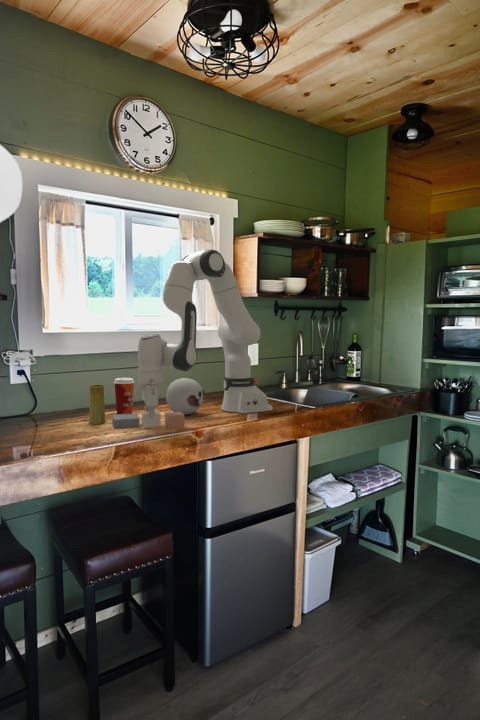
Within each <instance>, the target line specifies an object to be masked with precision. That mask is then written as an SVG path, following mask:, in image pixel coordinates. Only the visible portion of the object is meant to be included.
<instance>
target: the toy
mask: <svg viewBox="0 0 480 720" xmlns="http://www.w3.org/2000/svg"><path fill="white" fill-rule="evenodd" d="M165 394H166V395H165V400H166V404H167V406H168V408H169V409H170V410H171V412H182V413H183V414H184V416H188V415H192V414H194V413H195V412H197V411H199V409H200V408H201V406H202V405H203V403H204V395H205V391H204V389H203V388H202V386H201V385H200V383H199V382H197V381H196V379H192V378H187V377H181V378H177V379H175V380H174V381H172V382H171V383H170V384H169V386H168V387H167V389H166V393H165Z"/></svg>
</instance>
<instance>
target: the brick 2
mask: <svg viewBox="0 0 480 720" xmlns="http://www.w3.org/2000/svg"><path fill="white" fill-rule="evenodd" d="M164 425H165V427H166V429H167V430H170V429H171V430H172V429H174V428H177V429H185V415H184V414H183V413H182V412H173V411H170V412H169V411H168V412H167V411H166V412H164Z"/></svg>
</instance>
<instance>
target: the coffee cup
mask: <svg viewBox="0 0 480 720" xmlns="http://www.w3.org/2000/svg"><path fill="white" fill-rule="evenodd" d="M113 384H114V393H115V394H114V395H115V409H116V415H117V414H133V409H134V408H133V406H134V385H135V381H134V378H132V377H118V378H115V379H114V381H113Z"/></svg>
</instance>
